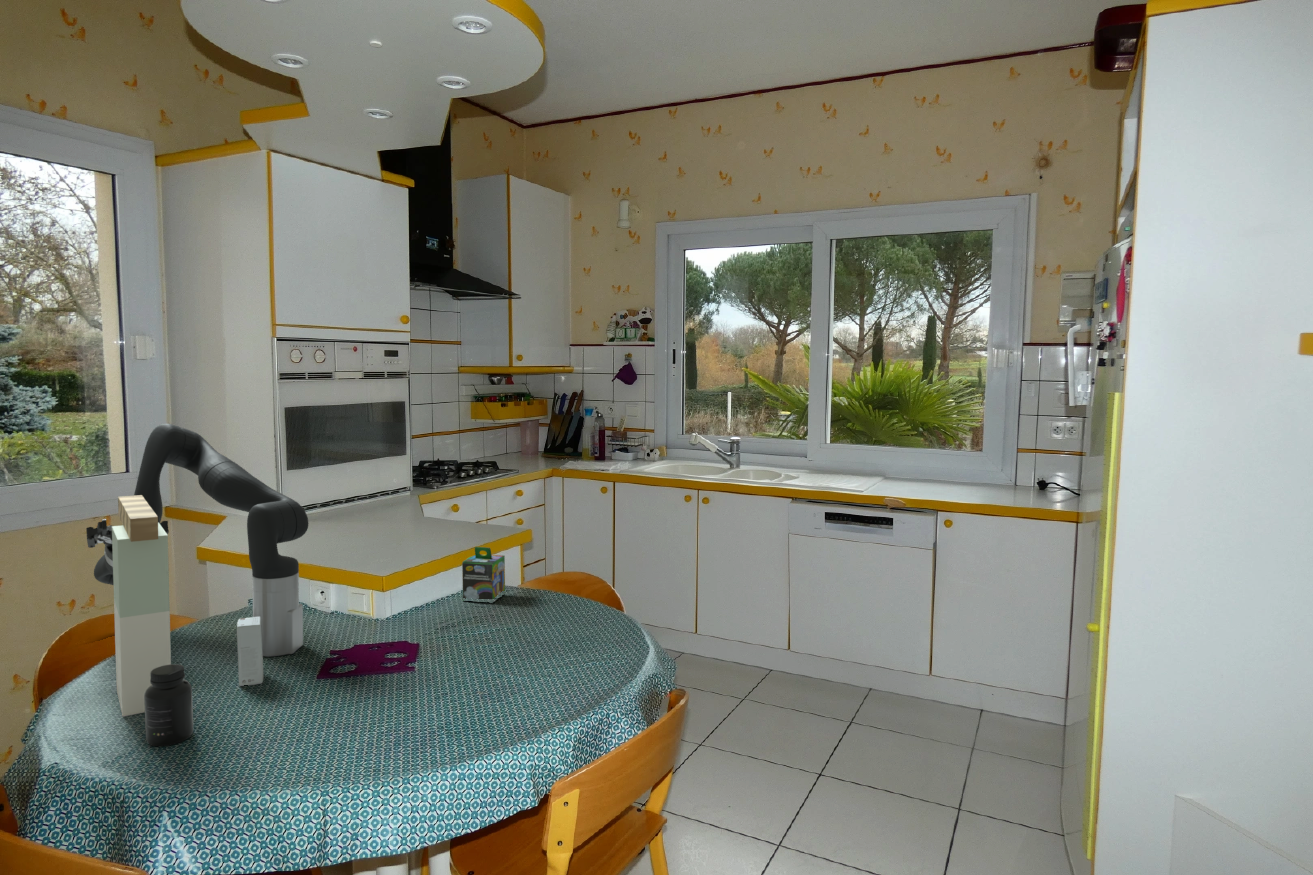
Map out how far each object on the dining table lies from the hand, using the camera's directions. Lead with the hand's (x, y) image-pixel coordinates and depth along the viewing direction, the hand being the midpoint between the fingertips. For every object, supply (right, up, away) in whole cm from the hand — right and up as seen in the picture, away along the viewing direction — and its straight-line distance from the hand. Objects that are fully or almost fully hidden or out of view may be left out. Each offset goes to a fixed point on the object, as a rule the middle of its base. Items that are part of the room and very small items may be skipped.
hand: (130, 521), depth 159 cm
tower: (+12, -32, -13) cm, 36 cm away
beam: (+10, 0, -13) cm, 16 cm away
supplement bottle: (+26, -34, -29) cm, 51 cm away
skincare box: (+27, -32, -4) cm, 42 cm away
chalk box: (+60, -28, +56) cm, 87 cm away
